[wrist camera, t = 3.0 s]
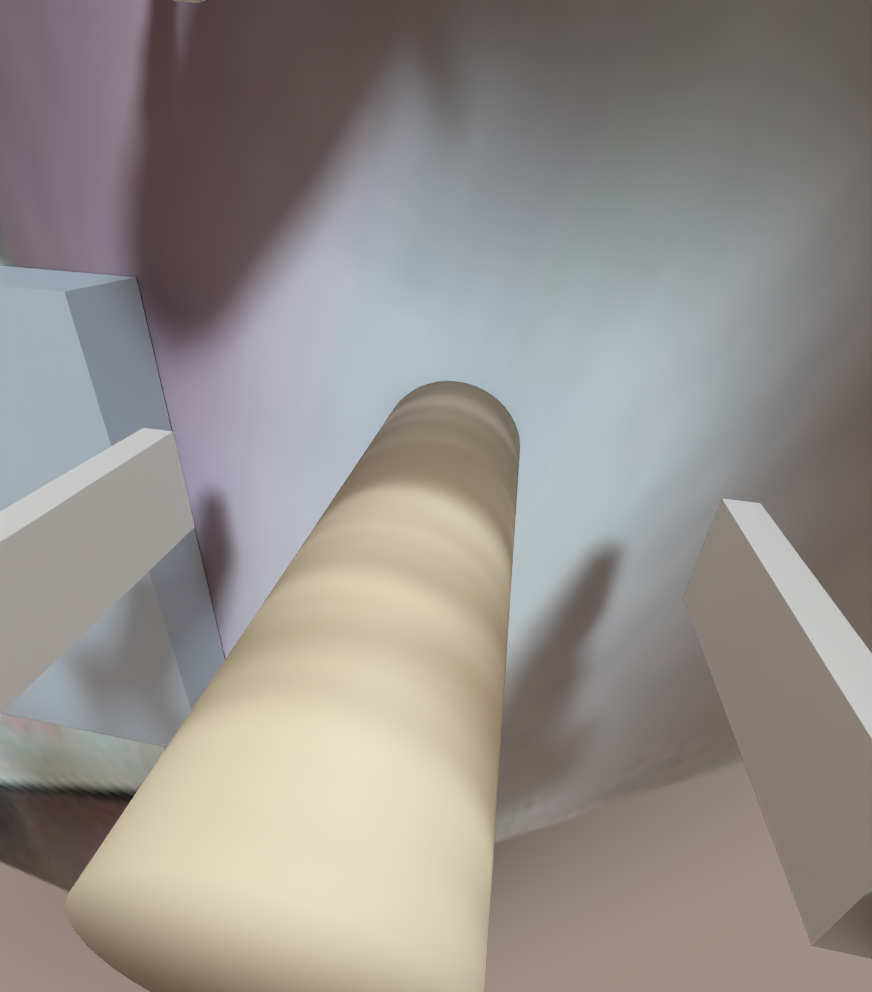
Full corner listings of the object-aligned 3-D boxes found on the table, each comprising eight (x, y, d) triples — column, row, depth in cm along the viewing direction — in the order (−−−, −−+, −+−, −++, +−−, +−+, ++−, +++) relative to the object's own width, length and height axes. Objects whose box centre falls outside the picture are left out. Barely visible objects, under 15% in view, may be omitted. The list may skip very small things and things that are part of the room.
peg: (384, 374, 14) (-4, 826, 4) (529, 389, 14) (509, 944, 4) (384, 497, 16) (128, 1004, 6) (510, 513, 16) (463, 1093, 6)
